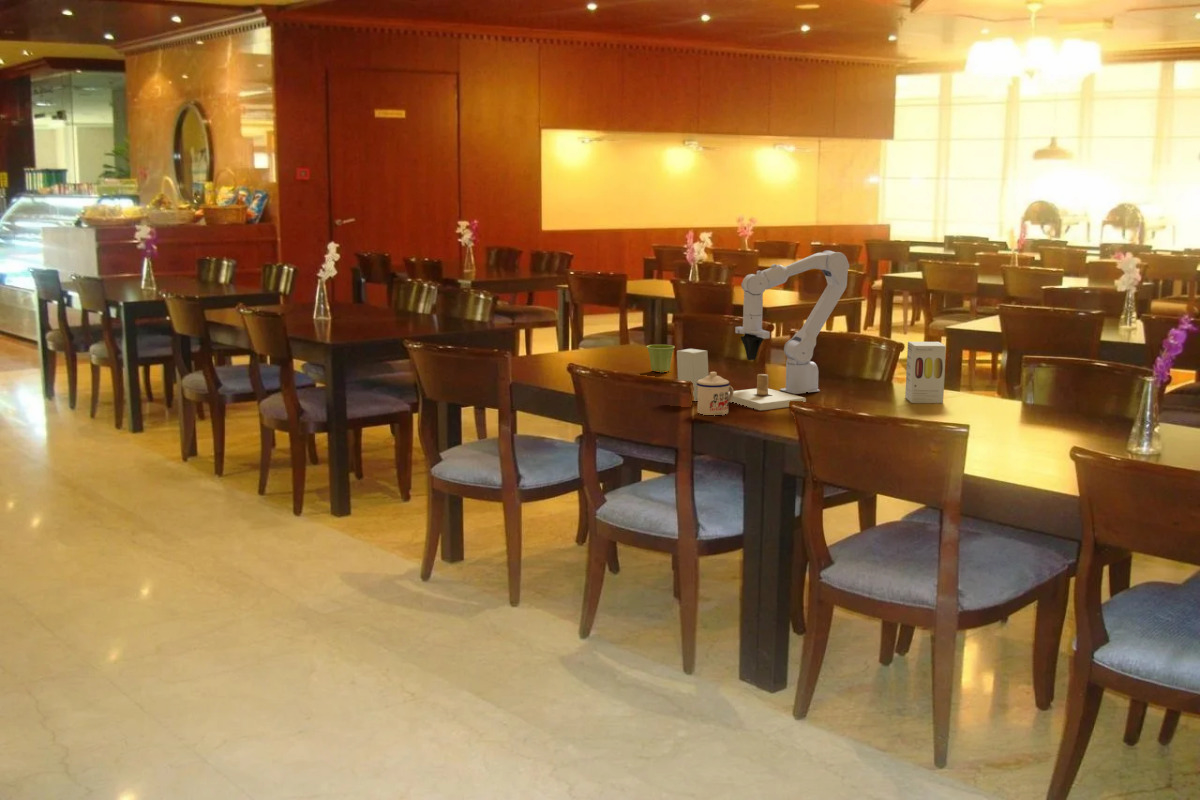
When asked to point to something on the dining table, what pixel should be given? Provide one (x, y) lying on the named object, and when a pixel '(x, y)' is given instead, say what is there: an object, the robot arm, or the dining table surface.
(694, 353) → the skincare box
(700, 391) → the teacup with lid
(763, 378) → the peg
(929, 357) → the supplement box
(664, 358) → the plant pot
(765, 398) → the board
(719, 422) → the dining table surface
